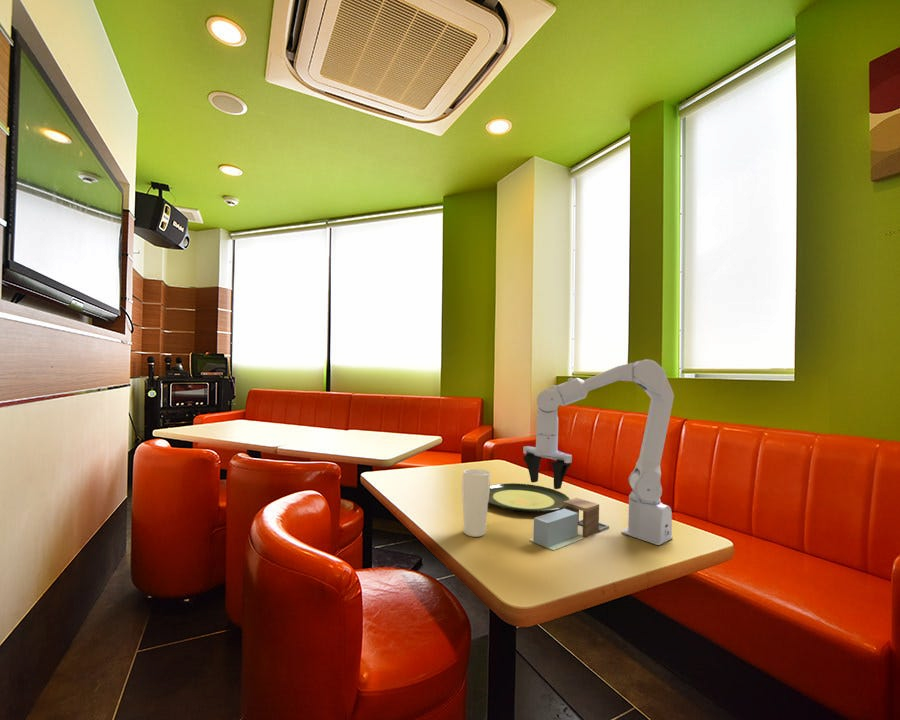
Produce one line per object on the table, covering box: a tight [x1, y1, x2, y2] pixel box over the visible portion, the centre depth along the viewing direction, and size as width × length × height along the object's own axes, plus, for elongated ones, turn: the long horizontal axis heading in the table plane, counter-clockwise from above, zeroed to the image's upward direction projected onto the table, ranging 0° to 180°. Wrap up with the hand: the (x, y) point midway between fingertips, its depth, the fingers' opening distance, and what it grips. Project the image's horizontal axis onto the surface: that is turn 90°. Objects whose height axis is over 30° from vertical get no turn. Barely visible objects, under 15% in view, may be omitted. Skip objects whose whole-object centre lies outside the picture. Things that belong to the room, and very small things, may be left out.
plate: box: [488, 482, 571, 513], centre depth 128 cm, size 28×28×2 cm
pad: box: [528, 535, 585, 552], centre depth 100 cm, size 7×12×1 cm, turn 130°
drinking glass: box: [461, 468, 491, 538], centre depth 102 cm, size 7×7×15 cm
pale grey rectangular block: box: [532, 508, 579, 548], centre depth 100 cm, size 4×12×6 cm, turn 130°
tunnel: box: [562, 497, 600, 538], centre depth 106 cm, size 7×6×7 cm
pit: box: [578, 519, 610, 533], centre depth 110 cm, size 7×4×1 cm, turn 40°
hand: (545, 485), depth 112 cm, fingers open, 7 cm apart
